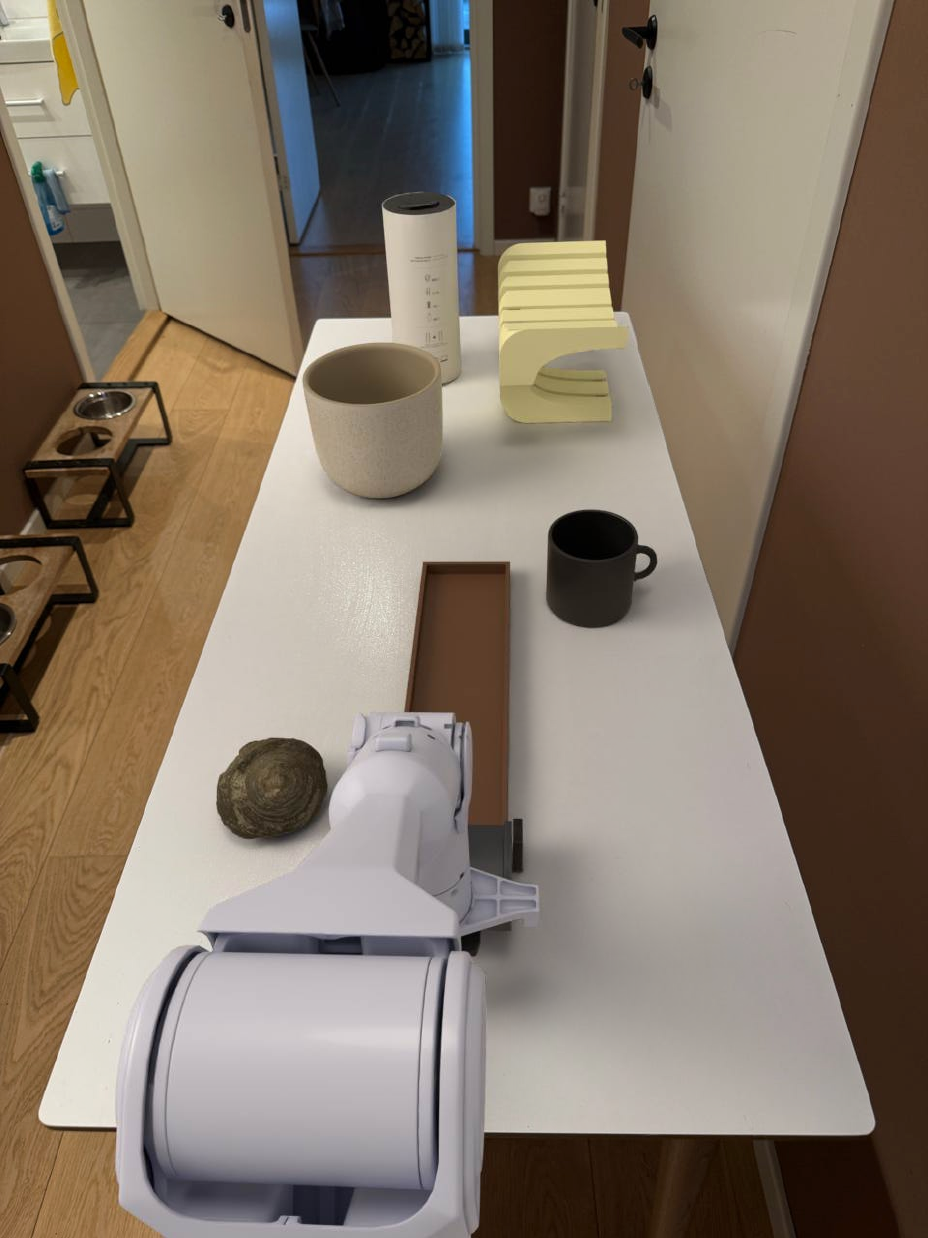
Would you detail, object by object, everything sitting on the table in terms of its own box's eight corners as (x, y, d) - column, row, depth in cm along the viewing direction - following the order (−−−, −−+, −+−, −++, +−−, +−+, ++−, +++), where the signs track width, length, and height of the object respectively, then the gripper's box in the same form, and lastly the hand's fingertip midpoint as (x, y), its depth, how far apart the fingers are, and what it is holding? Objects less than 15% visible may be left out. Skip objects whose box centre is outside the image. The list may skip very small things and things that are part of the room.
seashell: (186, 839, 73) (311, 831, 73) (189, 693, 77) (310, 686, 76) (226, 844, 84) (335, 837, 84) (228, 716, 87) (333, 710, 87)
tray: (507, 865, 78) (507, 851, 76) (388, 862, 78) (386, 849, 77) (510, 574, 107) (510, 561, 105) (424, 574, 107) (422, 561, 106)
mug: (663, 622, 99) (673, 556, 93) (553, 632, 99) (555, 565, 93) (643, 568, 107) (650, 503, 101) (540, 577, 106) (541, 512, 100)
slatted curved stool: (499, 356, 149) (497, 243, 137) (598, 353, 148) (605, 240, 136) (500, 454, 126) (499, 329, 115) (617, 451, 126) (628, 326, 114)
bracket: (522, 872, 77) (522, 842, 74) (372, 869, 78) (367, 840, 75) (522, 848, 79) (522, 818, 76) (375, 845, 79) (370, 816, 77)
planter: (407, 527, 114) (396, 417, 104) (294, 496, 121) (274, 389, 110) (469, 460, 125) (465, 355, 115) (363, 434, 132) (350, 333, 122)
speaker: (460, 356, 149) (453, 185, 132) (465, 386, 141) (458, 208, 124) (395, 360, 149) (379, 189, 132) (396, 391, 141) (379, 213, 124)
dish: (510, 1000, 66) (510, 974, 63) (360, 996, 66) (354, 971, 64) (511, 829, 77) (511, 801, 74) (382, 827, 77) (378, 799, 75)
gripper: (539, 806, 60) (536, 917, 69) (318, 803, 61) (344, 913, 70) (541, 903, 55) (537, 1009, 64) (299, 899, 56) (330, 1004, 65)
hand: (436, 965), depth 67 cm, fingers closed on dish, 2 cm apart
